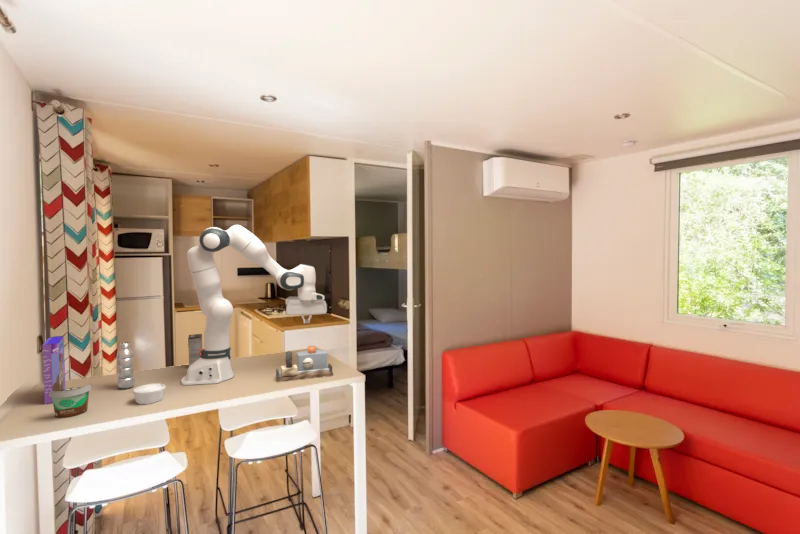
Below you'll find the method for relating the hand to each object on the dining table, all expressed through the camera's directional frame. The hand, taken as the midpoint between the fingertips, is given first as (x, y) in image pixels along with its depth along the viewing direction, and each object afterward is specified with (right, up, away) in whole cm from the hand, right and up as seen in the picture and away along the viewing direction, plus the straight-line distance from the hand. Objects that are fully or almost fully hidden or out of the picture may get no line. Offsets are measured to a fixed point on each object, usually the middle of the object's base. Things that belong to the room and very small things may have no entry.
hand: (306, 323), depth 207 cm
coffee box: (-60, -24, +8) cm, 65 cm away
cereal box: (-96, -26, -37) cm, 106 cm away
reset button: (+3, -15, -1) cm, 15 cm away
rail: (+2, -24, -11) cm, 27 cm away
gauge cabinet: (+3, -24, 0) cm, 24 cm away
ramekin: (-54, -26, -41) cm, 73 cm away
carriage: (-5, -23, -14) cm, 27 cm away
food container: (-74, -27, -56) cm, 97 cm away
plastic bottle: (-74, -25, -26) cm, 82 cm away
